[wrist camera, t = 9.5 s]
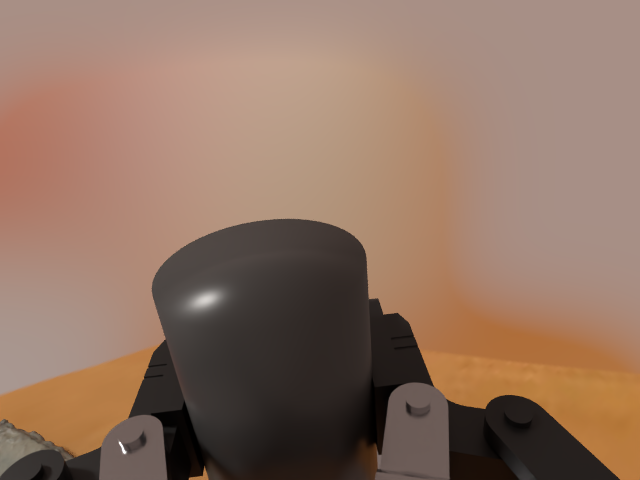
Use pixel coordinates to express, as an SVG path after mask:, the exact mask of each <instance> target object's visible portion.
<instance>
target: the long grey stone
mask: <svg viewBox="0 0 640 480" xmlns="http://www.w3.org/2000/svg"><path fill="white" fill-rule="evenodd" d="M47 449H49V450H55V451H58V452H60V453H61V455H62V456H63V458H64V460H65V461H68V460H70V459H73V458H74V457H73V455H69V453H68V452H67V451H65V450H64V449H63V448H62V447H57V446H55V445H54V443H53V442H51V441H45V440H44V438H43V437H42V436H41V435H40V434H38V433H37V432H35V431H32V432H30V433H28V432H26V431H24V430H22V429H16V428H15V427H14V425H13V424H12V423H8V420H5V419H3V420H2V421H1V422H0V476H1V475H2V474H3V473H4V472H5V471H6V470H7V469H8V468H9V467H10V466H11V465H12V464H14V463H15V462H16V461H18V460H19V459H21V458H23V457H24V456H26V455H28V454H31V453H33V452H36V451H40V450H47Z"/></svg>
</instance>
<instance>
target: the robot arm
mask: <svg viewBox="0 0 640 480" xmlns="http://www.w3.org/2000/svg"><path fill="white" fill-rule="evenodd" d="M369 316H370V334H371V352H372V385H373V403H374V421H375V439H376V446H377V451H378V455H382V456H381V464H380V469H377V471H376V476H375V480H620V479H619V478H618V477H617V476H616V475H615V474H613V473H612V472H611V471H610V470H609V469H608V468H607V467H606V466H605V465H604V464H603V463H601V462H600V461H599V460H598V459H597V458H596V457H595V456H594V455H593V454H592V453H591V452H590V451H588V450H587V449H586V448H585V447H584V446H583V445H582V444H581V443H580V442H579V441H578V440H577V439H575V438H574V437H573V436H572V435H571V434H570V433H569V432H568V431H567V430H566V429H565V428H564V427H562V426H561V425H560V424H559V423H558V422H557V421H556V420H555V419H554V418H553V417H552V416H551V415H549V414H548V413H547V412H546V411H545V410H544V409H543V408H542V407H541V406H539V405H538V404H537V403H535V402H533V401H531V400H529V399H527V398H524V397H520V396H515V395H504V396H499V397H496V398H494V399H493V400H491V401H490V402H489V403H488V405H487V406H486V409H481V408H474V407H467V406H462V405H458V404H455V403H453V402H451V401H449V400H447V399H446V398H445V396H444V395H443V394H442V393H441V392H440V391H439V390H438V389H436V388H435V387H434V385H433V383H432V381H431V378H430V375H429V373H428V370H427V368H426V365H425V363H424V360H423V358H422V355H421V353H420V350H419V348H418V345H417V342H416V340H415V338H414V335H413V332H412V330H411V327H410V324H409V323H408V322H407V321H406V320H405V319H404V318H403V317H402V316H400V315H399V314H398V313H394V314H386V315H383V312H382V309H381V306H380V303H379V300H378V299H369ZM203 471H204V462H203V458H202V455H201V452H200V449H199V445H198V442H197V439H196V436H195V432H194V429H193V426H192V423H191V419H190V416H189V413H188V410H187V406H186V403H185V400H184V397H183V393H182V390H181V387H180V384H179V380H178V377H177V374H176V370H175V367H174V364H173V361H172V357H171V354H170V351H169V348H168V344H167V341H166V340H164V342H163V343H162V344H161V345H160V346H159V347H158V348H157V349H156V350H155V351H154V352H153V355H152V357H151V360H150V363H149V365H148V369H147V371H146V373H145V376H144V380H143V381H142V384H141V386H140V389H139V391H138V394H137V397H136V399H135V402H134V405H133V407H132V410H131V412H130V415H129V418H128V419H126V420H124V421H122V422H121V423H119V424H118V425H116V426H115V427H114V428H113V429H112V430H111V431H110V432H109V433H108V434H107V436H106V437H105V439H104V441H103V443H102V447H100V448H98V449H96V450H94V451H91V452H89V453H86V454H83V455H81V456H78V457H75V458H73V459H70V460H68V461H65V460H64V458H63V456H62V455H61V453H60V452H58V451H55V450H49V449H47V450H40V451H36V452H33V453H31V454H28V455H26V456H24V457H23V458H21V459H19V460H18V461H16V462H15V463H14V464H12V465H11V466H10V467H9V468H8V469H7V470H6V471H5V472H4V473H3V474H2V475H1V476H0V480H189V478H190V477H198V476H203Z"/></svg>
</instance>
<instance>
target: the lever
mask: <svg viewBox="0 0 640 480" xmlns="http://www.w3.org/2000/svg"><path fill="white" fill-rule="evenodd" d="M152 294H153V299H154V302H155V305H156V309H157V312H158V315H159V318H160V321H161V325H162V328H163V331H164V335H165V337H166V341H167V344H168V348H169V351H170V354H171V357H172V361H173V364H174V367H175V370H176V374H177V377H178V380H179V384H180V387H181V390H182V393H183V397H184V400H185V403H186V406H187V410H188V413H189V416H190V419H191V423H192V426H193V429H194V432H195V436H196V439H197V442H198V445H199V449H200V452H201V455H202V458H203V462H204V465H205V468H206V471H207V475H208V478H209V480H375V476H376V471H377V469H378V462H377V446H376V439H375V421H374V403H373V385H372V352H371V334H370V316H369V298H368V280H367V261H366V253H365V250H364V248H363V246H362V244H361V243H360V242H359V241H358V240H357V239H356V238H355V237H354V236H353V235H351V234H350V233H348V232H347V231H345V230H343V229H340V228H338V227H336V226H333V225H330V224H326V223H322V222H317V221H310V220H301V219H274V220H264V221H256V222H251V223H246V224H240V225H237V226H233V227H229V228H225V229H222V230H219V231H216V232H214V233H211V234H208V235H206V236H204V237H201V238H199V239H197V240H195V241H193V242H191V243H189V244H188V245H186V246H184V247H183V248H181V249H180V250H179V251H177V252H176V253H175V254H173V255H172V256H171V257H170V258H169V259H168V260H166V261H165V262H164V264H163V265H162V266H161V267H160V268H159V270H158V272H157V273H156V275H155V277H154V280H153V284H152Z"/></svg>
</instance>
